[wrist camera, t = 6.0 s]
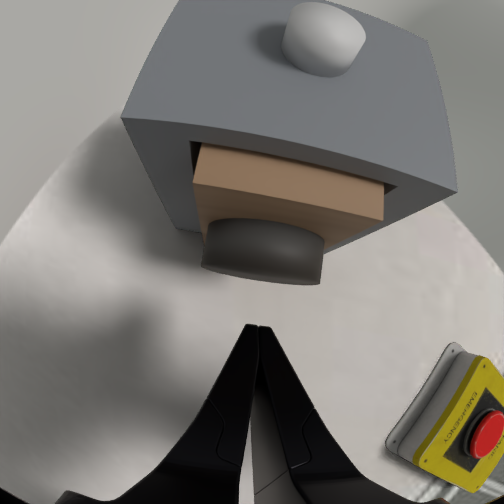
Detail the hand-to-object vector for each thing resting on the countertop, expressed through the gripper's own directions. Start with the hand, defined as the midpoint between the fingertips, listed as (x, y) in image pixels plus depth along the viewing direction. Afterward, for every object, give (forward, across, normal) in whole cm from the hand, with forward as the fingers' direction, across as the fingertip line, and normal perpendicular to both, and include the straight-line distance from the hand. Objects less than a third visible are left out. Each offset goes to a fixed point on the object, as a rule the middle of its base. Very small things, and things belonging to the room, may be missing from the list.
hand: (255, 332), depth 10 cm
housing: (+10, 0, -1) cm, 10 cm away
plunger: (+9, 0, +1) cm, 9 cm away
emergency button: (0, -20, +11) cm, 23 cm away
